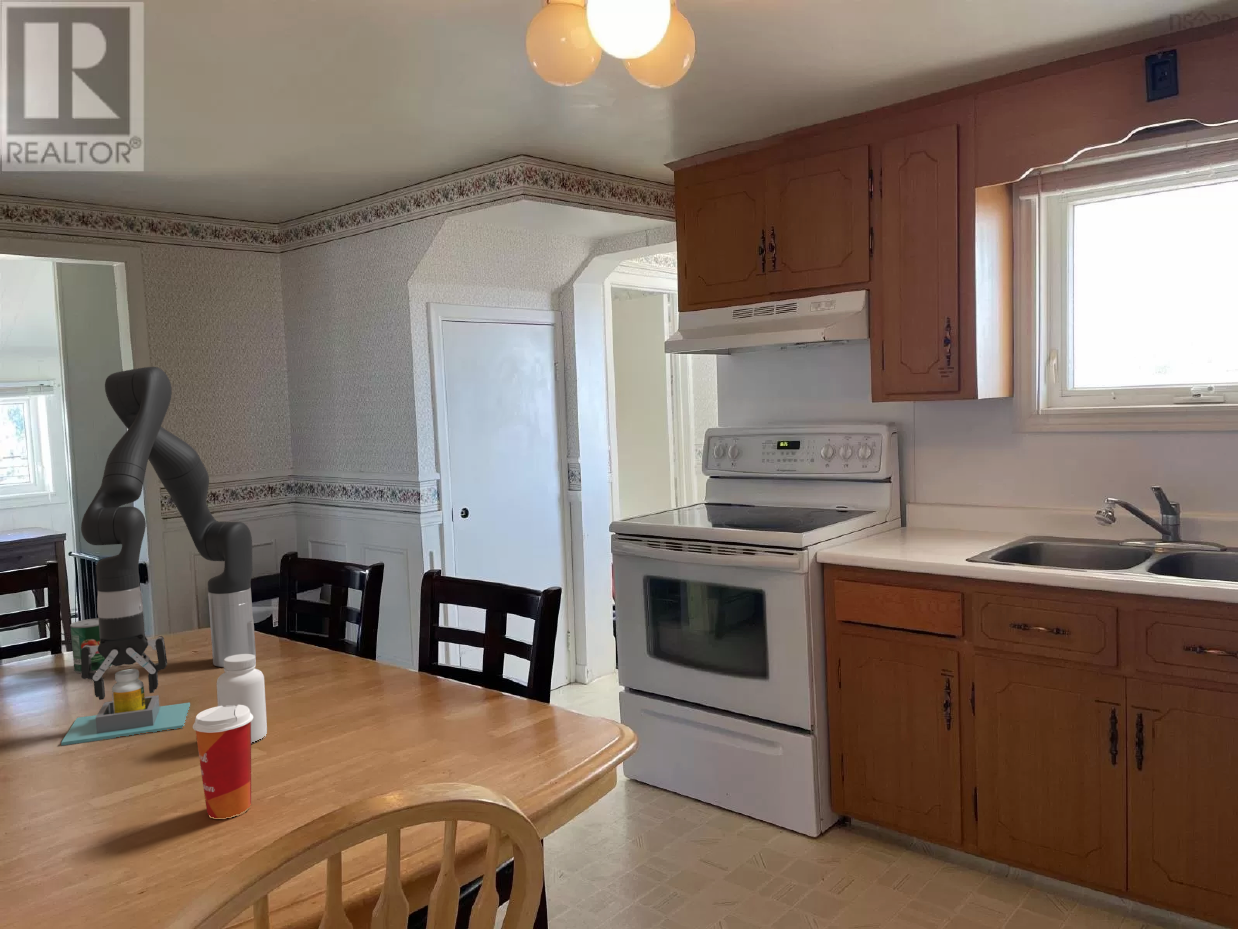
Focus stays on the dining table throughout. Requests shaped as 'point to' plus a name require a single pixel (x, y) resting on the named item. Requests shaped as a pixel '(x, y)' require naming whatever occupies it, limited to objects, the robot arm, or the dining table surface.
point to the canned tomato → (86, 642)
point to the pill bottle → (244, 690)
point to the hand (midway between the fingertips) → (127, 695)
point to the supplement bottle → (128, 692)
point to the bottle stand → (126, 721)
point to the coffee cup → (225, 758)
